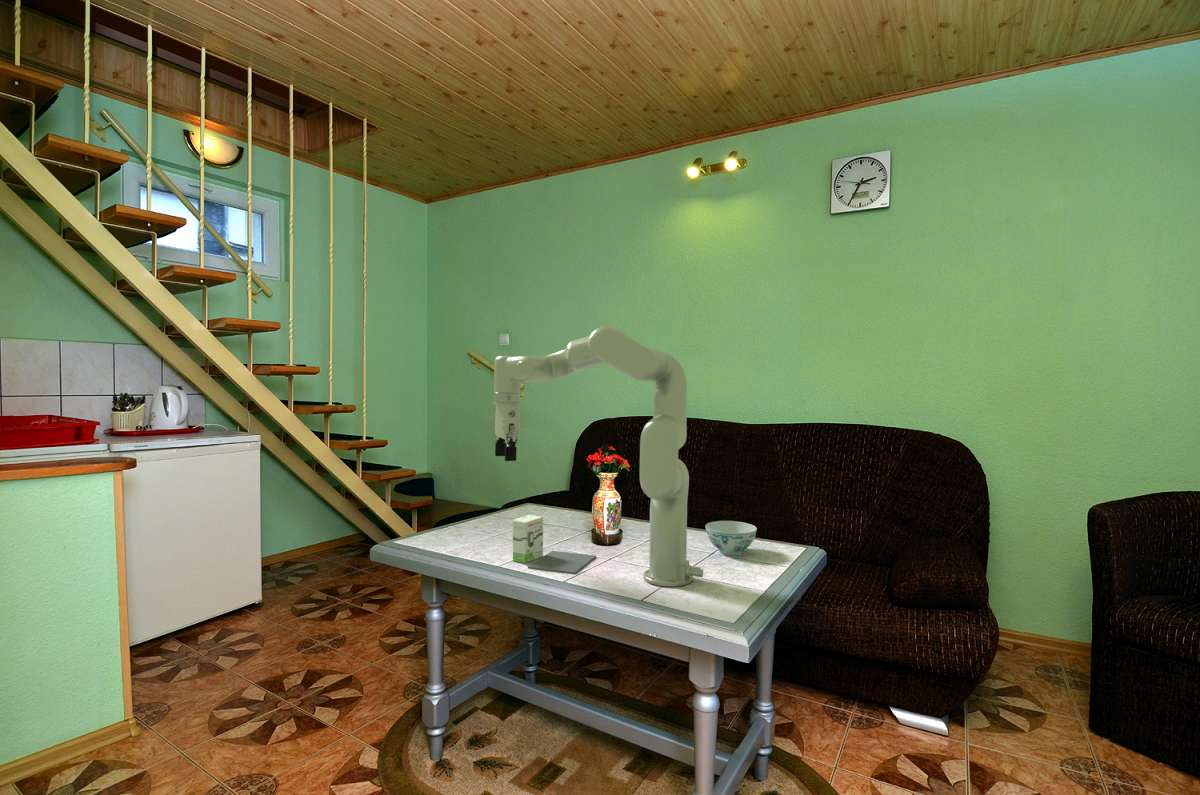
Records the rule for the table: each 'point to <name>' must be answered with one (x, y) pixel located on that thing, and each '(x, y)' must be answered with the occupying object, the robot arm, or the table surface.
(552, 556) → the slate mat
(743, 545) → the chinaware
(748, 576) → the table surface
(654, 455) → the robot arm
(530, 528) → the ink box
